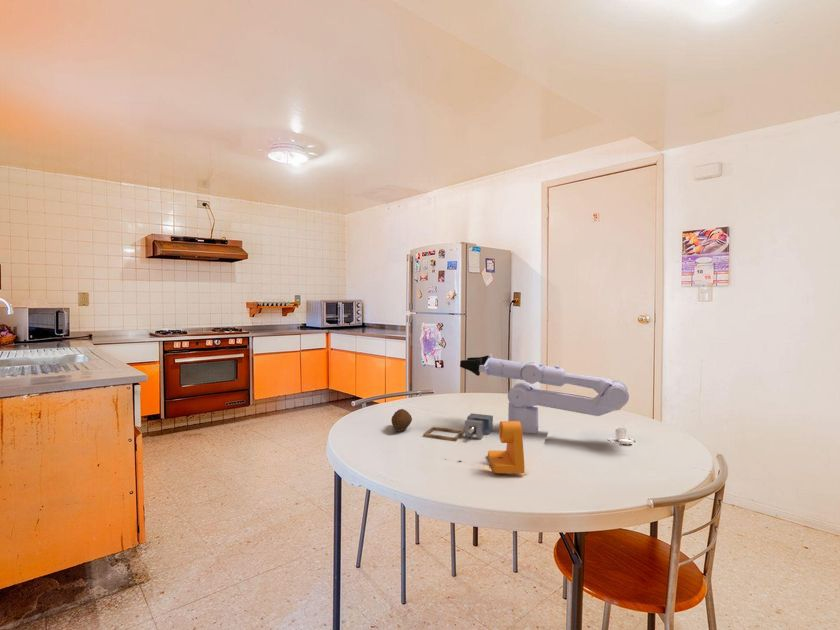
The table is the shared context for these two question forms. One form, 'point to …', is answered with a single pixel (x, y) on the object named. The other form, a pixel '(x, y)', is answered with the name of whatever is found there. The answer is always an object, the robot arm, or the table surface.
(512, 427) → the bracket
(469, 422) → the block
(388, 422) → the table surface
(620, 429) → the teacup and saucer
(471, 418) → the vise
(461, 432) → the tray
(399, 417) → the potato
